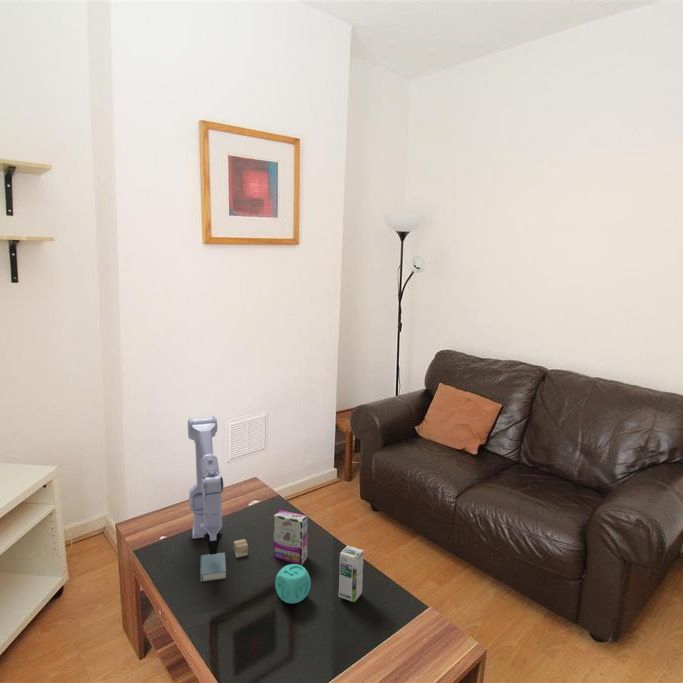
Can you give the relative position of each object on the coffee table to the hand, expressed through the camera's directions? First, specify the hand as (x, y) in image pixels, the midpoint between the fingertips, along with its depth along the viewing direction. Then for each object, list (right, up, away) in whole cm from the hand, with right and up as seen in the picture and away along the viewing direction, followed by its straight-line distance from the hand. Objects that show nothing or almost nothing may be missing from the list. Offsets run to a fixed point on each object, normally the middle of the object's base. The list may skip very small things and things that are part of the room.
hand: (213, 549), depth 161 cm
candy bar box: (+25, -7, +8) cm, 27 cm away
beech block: (+7, -6, +9) cm, 13 cm away
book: (0, -7, +1) cm, 8 cm away
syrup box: (+45, -10, -10) cm, 48 cm away
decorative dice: (+28, -10, -11) cm, 31 cm away
